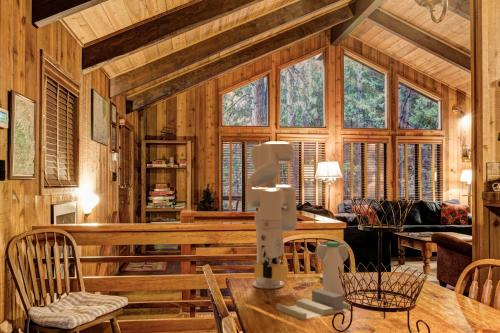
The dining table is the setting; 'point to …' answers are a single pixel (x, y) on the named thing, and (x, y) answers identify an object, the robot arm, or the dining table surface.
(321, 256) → the chalice
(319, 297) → the slate bar
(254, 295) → the dining table surface
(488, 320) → the dining table surface
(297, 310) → the slot board
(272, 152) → the robot arm
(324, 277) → the milk bottle
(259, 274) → the ochre bar
